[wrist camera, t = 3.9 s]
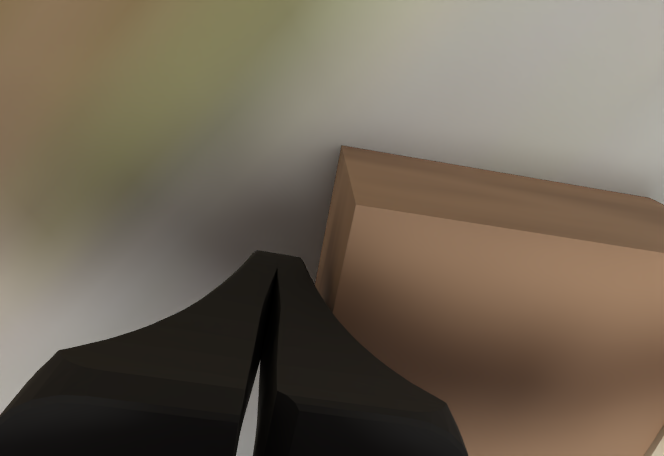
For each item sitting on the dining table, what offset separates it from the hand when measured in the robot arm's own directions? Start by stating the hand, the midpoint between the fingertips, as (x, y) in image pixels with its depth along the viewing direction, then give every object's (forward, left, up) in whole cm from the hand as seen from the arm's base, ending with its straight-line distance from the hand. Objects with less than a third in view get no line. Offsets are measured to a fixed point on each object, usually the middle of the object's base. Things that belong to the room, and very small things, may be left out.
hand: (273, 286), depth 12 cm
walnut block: (0, -6, -3) cm, 7 cm away
